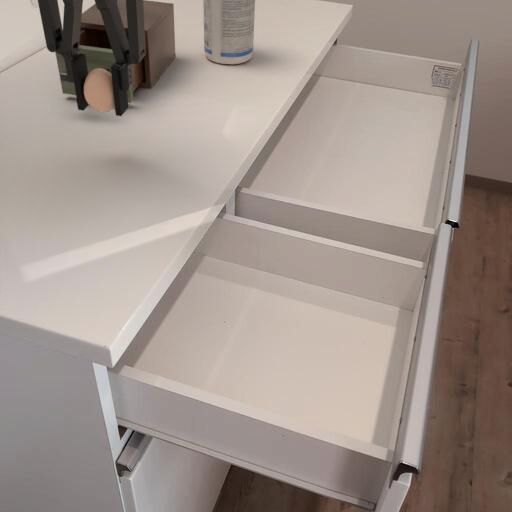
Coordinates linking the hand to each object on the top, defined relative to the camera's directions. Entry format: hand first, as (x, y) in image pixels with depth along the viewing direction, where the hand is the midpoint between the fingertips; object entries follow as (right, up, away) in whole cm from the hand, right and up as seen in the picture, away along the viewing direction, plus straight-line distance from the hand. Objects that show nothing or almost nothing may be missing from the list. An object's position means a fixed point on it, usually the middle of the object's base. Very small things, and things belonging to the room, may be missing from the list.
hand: (103, 108), depth 72 cm
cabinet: (-3, +15, +28) cm, 32 cm away
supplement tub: (+15, +19, +35) cm, 42 cm away
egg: (0, 0, 0) cm, 1 cm away
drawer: (-5, +9, +19) cm, 21 cm away
